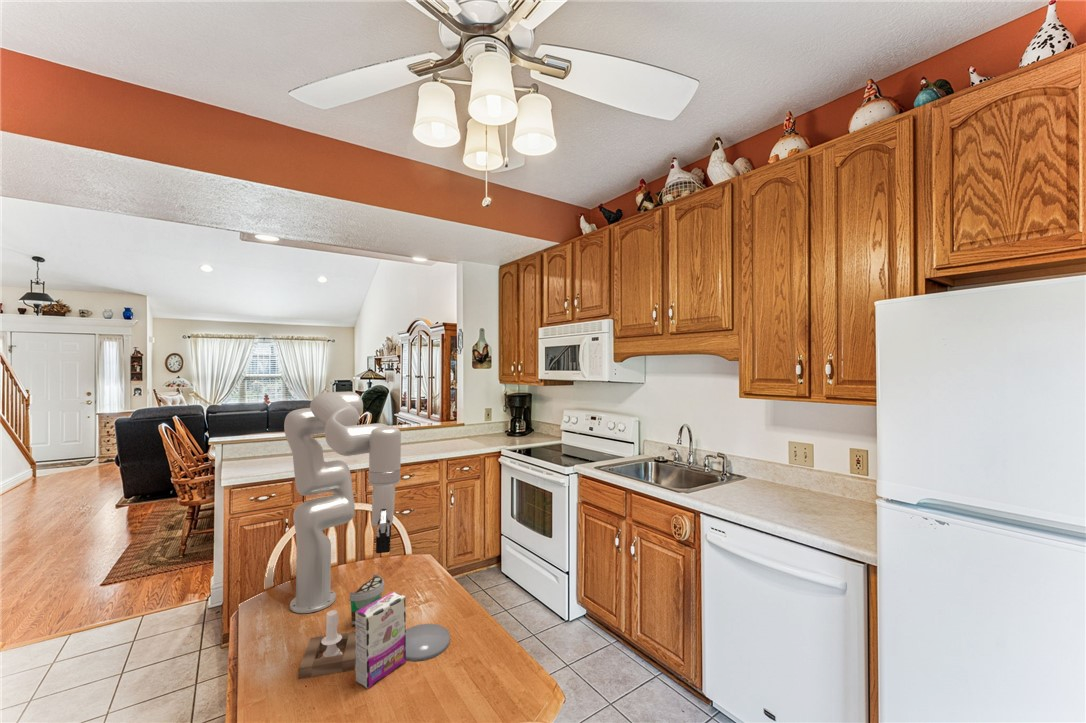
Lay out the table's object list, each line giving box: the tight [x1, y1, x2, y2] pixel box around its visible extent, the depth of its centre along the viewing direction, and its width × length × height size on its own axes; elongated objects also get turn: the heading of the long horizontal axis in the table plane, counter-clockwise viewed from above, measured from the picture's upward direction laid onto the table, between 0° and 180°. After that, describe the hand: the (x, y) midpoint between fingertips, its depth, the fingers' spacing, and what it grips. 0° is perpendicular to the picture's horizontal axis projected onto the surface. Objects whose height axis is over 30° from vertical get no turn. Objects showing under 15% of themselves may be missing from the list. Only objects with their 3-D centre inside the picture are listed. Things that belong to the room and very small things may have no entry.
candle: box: [320, 609, 344, 658], centre depth 111 cm, size 5×5×12 cm
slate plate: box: [405, 623, 451, 662], centre depth 117 cm, size 14×14×1 cm
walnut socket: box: [298, 631, 356, 680], centre depth 111 cm, size 12×12×2 cm
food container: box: [348, 573, 385, 628], centre depth 129 cm, size 12×6×10 cm, turn 168°
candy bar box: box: [354, 591, 407, 690], centre depth 106 cm, size 11×5×16 cm, turn 148°
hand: (383, 544), depth 112 cm, fingers open, 9 cm apart
